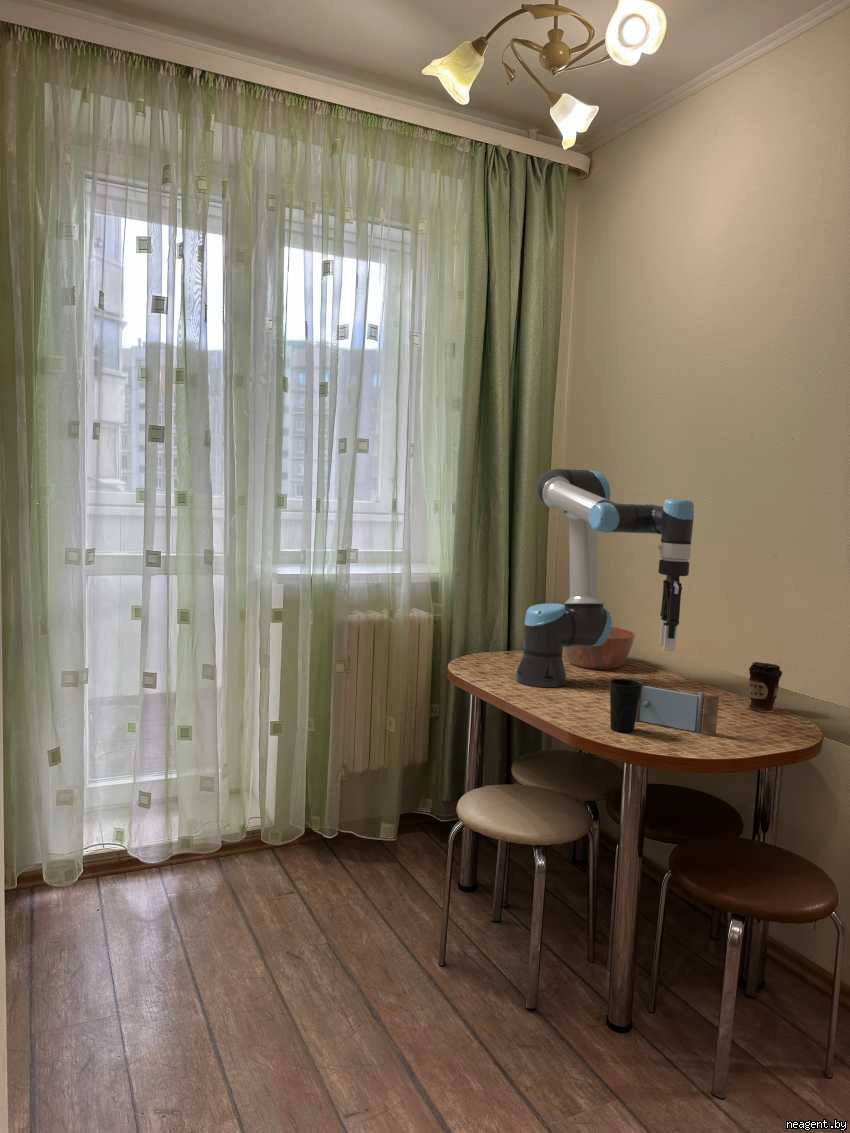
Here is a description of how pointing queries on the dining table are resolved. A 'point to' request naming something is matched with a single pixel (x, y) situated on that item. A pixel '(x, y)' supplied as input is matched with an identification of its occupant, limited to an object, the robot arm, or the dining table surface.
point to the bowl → (603, 651)
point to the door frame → (708, 713)
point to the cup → (624, 704)
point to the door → (672, 708)
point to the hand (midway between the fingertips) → (667, 647)
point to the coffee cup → (763, 686)
